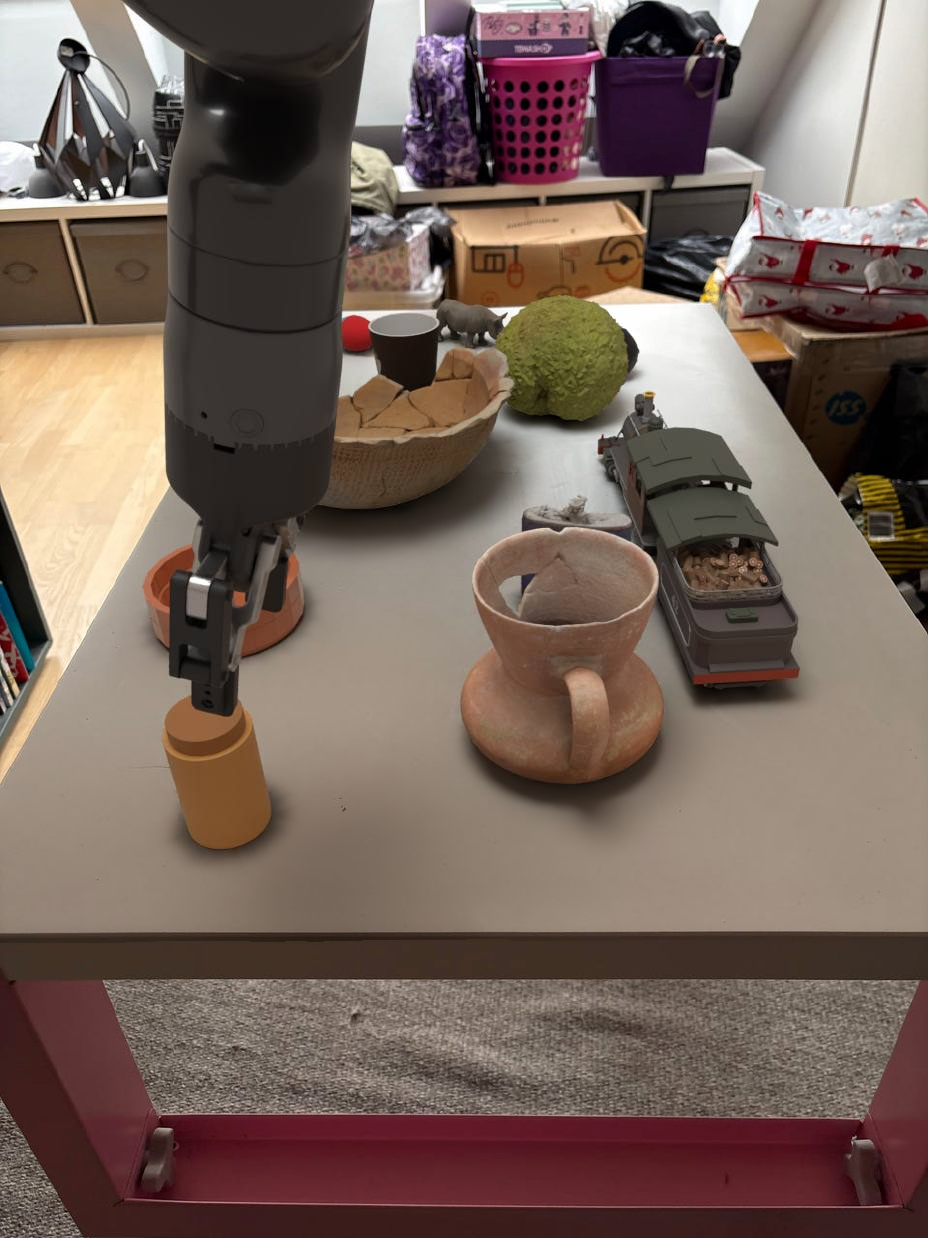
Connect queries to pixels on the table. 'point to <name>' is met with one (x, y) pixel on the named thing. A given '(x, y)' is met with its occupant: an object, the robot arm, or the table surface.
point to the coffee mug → (406, 348)
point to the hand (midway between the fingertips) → (240, 654)
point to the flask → (573, 523)
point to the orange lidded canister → (217, 774)
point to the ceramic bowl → (415, 431)
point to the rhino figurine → (468, 321)
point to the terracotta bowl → (257, 634)
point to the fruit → (564, 358)
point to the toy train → (704, 550)
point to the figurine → (631, 350)
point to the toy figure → (356, 333)
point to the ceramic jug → (564, 657)
